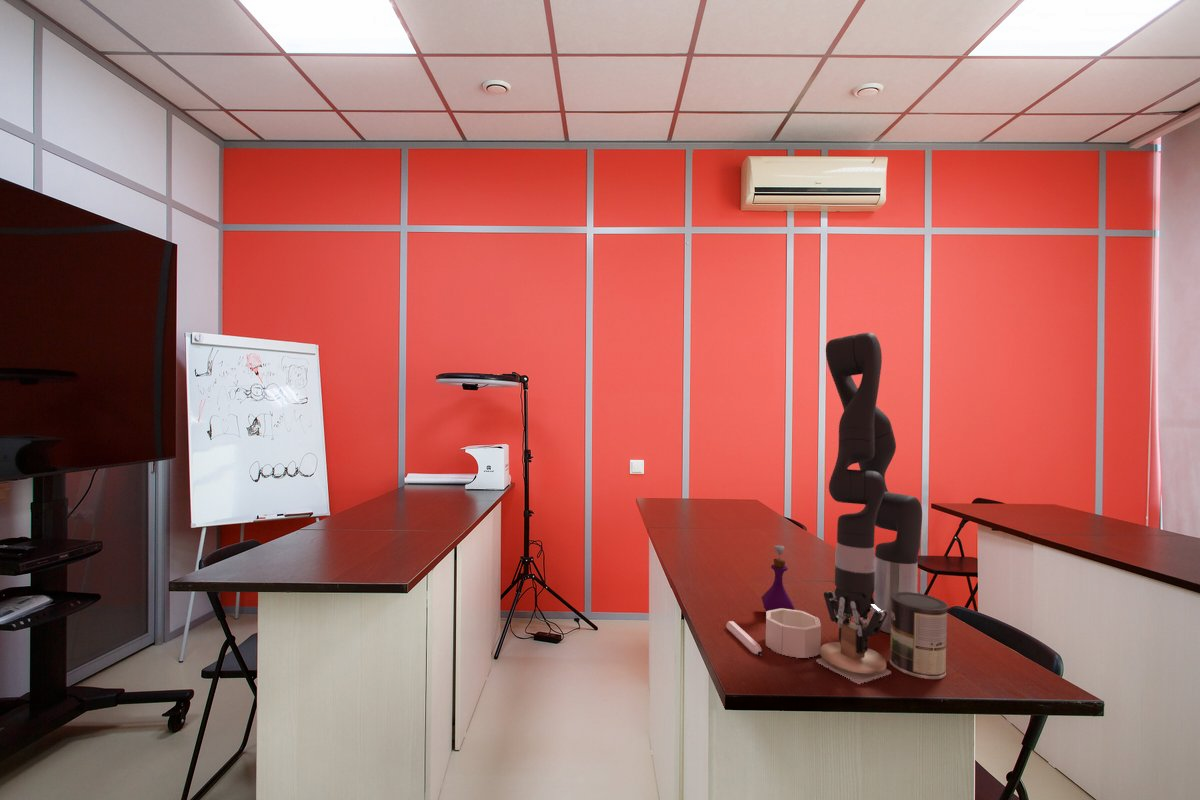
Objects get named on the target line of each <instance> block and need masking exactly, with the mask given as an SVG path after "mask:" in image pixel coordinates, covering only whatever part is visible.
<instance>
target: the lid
mask: <svg viewBox="0 0 1200 800" xmlns="http://www.w3.org/2000/svg"><path fill="white" fill-rule="evenodd" d="M857 635H858V634H857V630H856V624H855V623H854V621H853V622H852V621H850V623H845V624H841V645H840V642H839V641H835V642H834V641H832V642H831V641H830V642H827V643H823V644H822V645H821V648H820V654H819V655H820V658H823V659H824V660H825V661H827V662H828V663H830V664H831V665H834V666H836V667H838V668H841V669H844V670H847V671H851V672H856V673H864V674H874V673H880V672H882V671H884V670H885V669H887V660H886V658H885V657H884V656H883V655H881V654H880V653H879V652H878V651H876V650H873V649H872V648H869V647H868V650H867V651H866V652H865V653H863V654H858V653H857V652H856V641H857Z"/></svg>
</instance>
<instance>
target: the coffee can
mask: <svg viewBox="0 0 1200 800" xmlns="http://www.w3.org/2000/svg"><path fill="white" fill-rule="evenodd" d="M891 600H892V606H891V634H890V647H889V648H890V650H889V651H890V653H889V656H890V657H889V663H890V665H891V666H892V667H893V668H895V669H896V670H898V671H899V672H901V673H903V674H906V675H907V676H911V677H914V678H919V679H923V678H924V680H941V679H943V678H945V677H946V676H947V672H946V665H947V664H946V663H947V662H946V661H947V658H946V657H947V629H948V628H947V626H948V625H947V624H948V622H947V621H948V610H949V605H948V603H947V602H945V601H943V600H942V599H940V598H937V597H935V596H931V595H927V594H923V593H919V592H918V593H912V592H897V593H893V594H892V595H891Z"/></svg>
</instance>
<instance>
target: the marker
mask: <svg viewBox="0 0 1200 800" xmlns="http://www.w3.org/2000/svg"><path fill="white" fill-rule="evenodd" d="M725 627H726V628H727V629H726V630H728V631H729V632H730V633H731V634H732V635H733V636H734V637H735V638H736V639H737V640H738V641H739V642H740V643H742V644H743V645H744V646H745V647H746V648H747V649H748V650H749V651H750V652H751V653H752V654H753V653H754V655H756V654H757V655H756V656H761V657H763V654H762V650H763V649H762V647H761V645H760V644H759V643H758V642H757V641H756V640H755V639H754V638H753V637H751V636H750V635H749V634H748V633H747V632H746V631H745V630H743V628H741V627H740V626H739V625H738V624H737V623H736V622H735V621H733V620H729V621H727V622H726V625H725Z"/></svg>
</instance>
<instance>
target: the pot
mask: <svg viewBox="0 0 1200 800" xmlns="http://www.w3.org/2000/svg"><path fill="white" fill-rule="evenodd" d="M765 613H766V614H765V615H766V616H765V647H767V648H768V649H769V648H770V649H771V651H772V652H773V653H775V652H776V653H775V654H778V653H779V654H778V655H780V654H782V655H781V656H783V655H785V656H784V657H786V656H790V657H789V658H791V657H796V658H795V659H798V658H808V659H810V658H809V657H813V658H815V657H817V656H819V655H820V648H821V646H822V645H821V644H822V641H821V640H822V639H821V638H822V624H821V621H820V618H819V617H817V616H814V615H812V614H810V613H808V612H806V611H804V610H803V611H802V610H800V609H795V610H791V609H784V608H782V609H781V608H780V609H775V610H770V611H766V610H765ZM770 649H769V650H770ZM814 656H815V657H814Z"/></svg>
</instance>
